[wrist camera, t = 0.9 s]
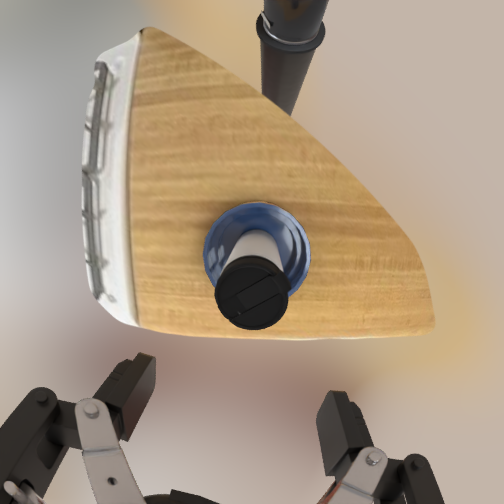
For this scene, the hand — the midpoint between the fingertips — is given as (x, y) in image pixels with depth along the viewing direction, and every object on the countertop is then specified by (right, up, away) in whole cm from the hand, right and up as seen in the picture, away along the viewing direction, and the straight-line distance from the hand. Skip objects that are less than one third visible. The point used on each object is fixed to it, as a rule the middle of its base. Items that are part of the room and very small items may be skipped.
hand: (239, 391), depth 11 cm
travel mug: (+1, +7, +30) cm, 31 cm away
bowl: (+1, +7, +31) cm, 32 cm away
